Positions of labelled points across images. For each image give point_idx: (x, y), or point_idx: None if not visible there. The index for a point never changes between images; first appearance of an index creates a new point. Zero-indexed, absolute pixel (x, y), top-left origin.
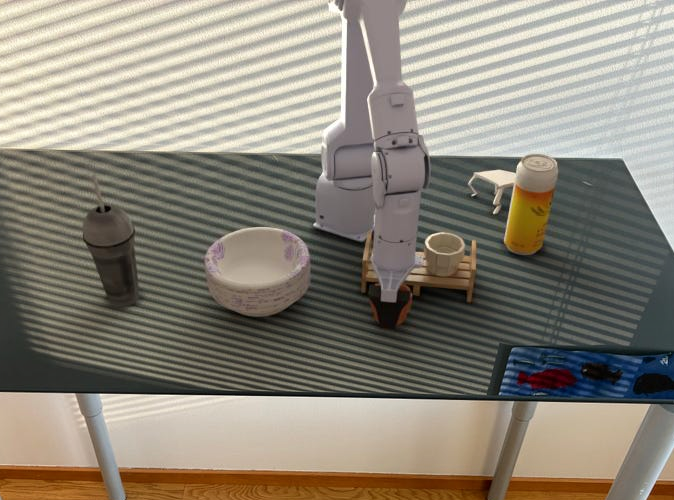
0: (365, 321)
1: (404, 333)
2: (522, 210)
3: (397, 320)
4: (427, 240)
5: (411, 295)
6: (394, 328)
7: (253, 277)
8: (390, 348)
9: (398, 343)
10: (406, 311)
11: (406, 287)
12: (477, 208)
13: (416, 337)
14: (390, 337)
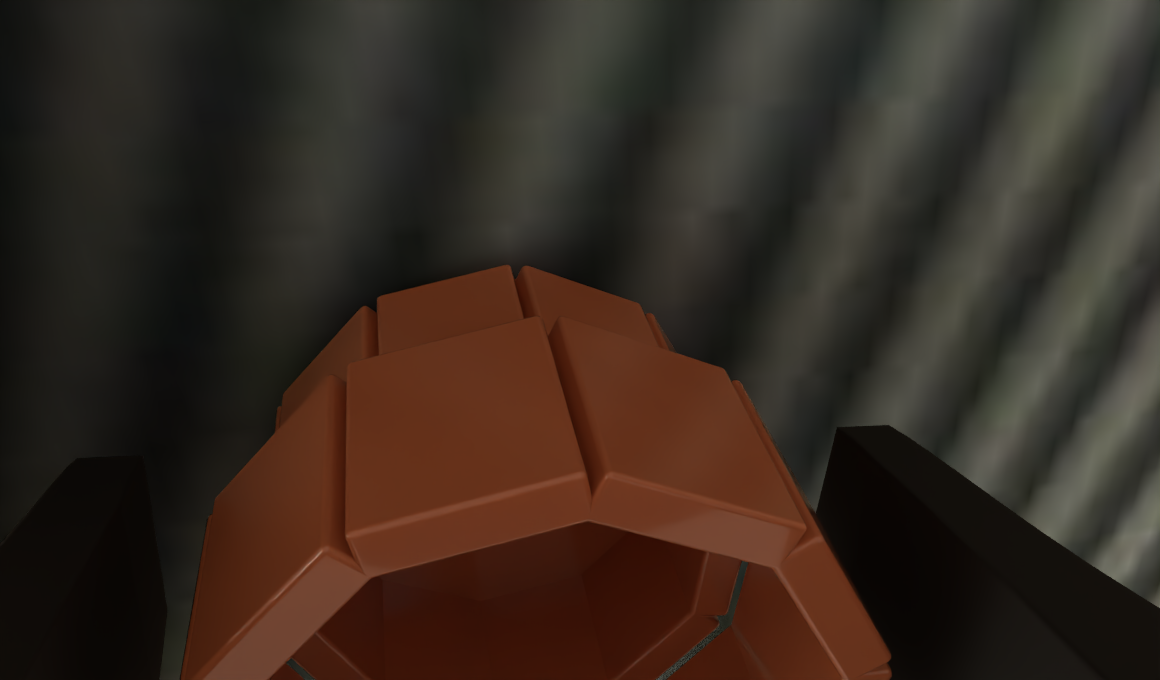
0: None
1: (787, 245)
2: None
3: (1006, 511)
4: None
5: (585, 480)
6: (896, 432)
7: None
8: (1025, 366)
9: (958, 296)
10: (734, 396)
11: (336, 588)
12: None
13: (873, 93)
14: (848, 385)
